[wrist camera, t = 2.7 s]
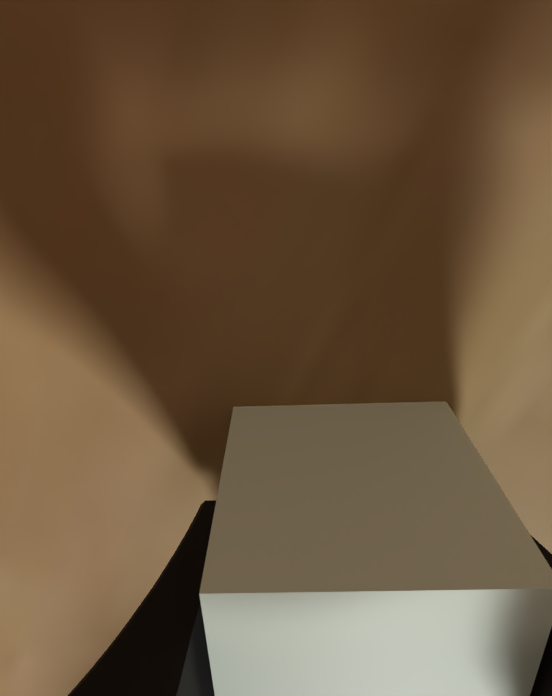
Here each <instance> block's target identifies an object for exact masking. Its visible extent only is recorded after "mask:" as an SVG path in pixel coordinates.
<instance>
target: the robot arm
mask: <svg viewBox="0 0 552 696" xmlns="http://www.w3.org/2000/svg"><path fill="white" fill-rule="evenodd" d="M215 505H216V501H205V502H204V503H202V504H201V506H200V508H199V510H198V512H197V514H196V516H195V518H194V520H193V522H192V523H191V525H190V527H189V529H188V531H187V533H186V534H185V536H184V538H183V540H182V541H181V543H180V545H179V546H178V548H177V550H176V551H175V553H174V555H173V556H172V558H171V559H170V561H169V563H168V564H167V566H166V567H165V569H164V571H163V572H162V574H161V575H160V577H159V578H158V580H157V582H156V583H155V585H154V586H153V588H152V589H151V590H150V592H149V593H148V595H147V596H146V597H145V599H144V600H143V602H142V603H141V605H140V606H139V607H138V609H137V610H136V612H135V613H134V614H133V616H132V617H131V619H130V620H129V621H128V623H127V624H126V625H125V627H124V628H123V629H122V631H121V632H120V633H119V635H118V636H117V637H116V639H115V640H114V641H113V642H112V644H111V645H110V646H109V648H108V649H107V650H106V651H105V652H104V654H103V655H102V656H101V657H100V659H99V660H98V661H97V662H96V664H95V665H94V666H93V667H92V668H91V670H90V671H89V672H88V673H87V674H86V675H85V677H84V678H83V679H82V680H81V681H80V682H79V683H78V685H77V686H76V687H75V688H74V689H73V690H72V691H71V693H70V694H69V695H68V696H215V694H214V687H213V681H212V674H211V668H210V661H209V655H208V648H207V641H206V635H205V628H204V622H203V615H202V609H201V602H200V595H199V592H200V587H201V581H202V576H203V570H204V565H205V560H206V554H207V549H208V543H209V538H210V532H211V527H212V521H213V516H214V510H215ZM531 537H532V536H531ZM532 539H533V540H534V542H535V543H536V545H537V547H538V548H539V550H540V551H541V553H542V555H543V556H544V558H545V559H546V561H547V563H548V564H549V566H550V567H551V569H552V554H551V553H550V552H549V551H547V550H546V549H545V548H544V547H543V546H542V545H541V544H540V543H539V542H538V541H537V540H535V539H534V538H533V537H532ZM530 696H552V627H551V630H550V634H549V637H548V640H547V643H546V646H545V649H544V653H543V656H542V659H541V662H540V665H539V668H538V672H537V675H536V678H535V681H534V684H533V687H532V691H531V694H530Z"/></svg>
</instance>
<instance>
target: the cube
mask: <svg viewBox="0 0 552 696" xmlns="http://www.w3.org/2000/svg"><path fill="white" fill-rule="evenodd" d="M199 595H200V602H201V609H202V615H203V622H204V628H205V635H206V641H207V648H208V655H209V661H210V668H211V674H212V681H213V687H214V694H215V696H530V694H531V691H532V687H533V684H534V681H535V678H536V675H537V672H538V668H539V665H540V662H541V659H542V656H543V653H544V649H545V646H546V643H547V640H548V637H549V634H550V630H551V627H552V569H551V567H550V566H549V564H548V563H547V561H546V559H545V558H544V556H543V555H542V553H541V551H540V550H539V548H538V547H537V545H536V543H535V542H534V540H533V539H532V537H531V535H530V534H529V532H528V531H527V529H526V527H525V526H524V524H523V523H522V521H521V520H520V518H519V516H518V515H517V513H516V512H515V510H514V508H513V507H512V505H511V504H510V502H509V500H508V499H507V497H506V496H505V494H504V492H503V491H502V489H501V488H500V486H499V484H498V483H497V481H496V480H495V478H494V476H493V475H492V473H491V472H490V470H489V468H488V467H487V465H486V464H485V462H484V461H483V459H482V457H481V456H480V454H479V453H478V451H477V449H476V448H475V446H474V445H473V443H472V441H471V440H470V438H469V437H468V435H467V433H466V432H465V430H464V429H463V427H462V425H461V424H460V422H459V421H458V419H457V417H456V416H455V414H454V413H453V411H452V409H451V408H450V406H449V405H448V403H447V402H446V401H437V402H398V403H359V404H320V405H281V406H242V407H233V411H232V417H231V422H230V428H229V433H228V439H227V444H226V450H225V455H224V461H223V466H222V472H221V477H220V483H219V488H218V494H217V499H216V505H215V510H214V516H213V521H212V527H211V532H210V538H209V543H208V549H207V554H206V560H205V565H204V570H203V576H202V581H201V587H200V592H199Z"/></svg>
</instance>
